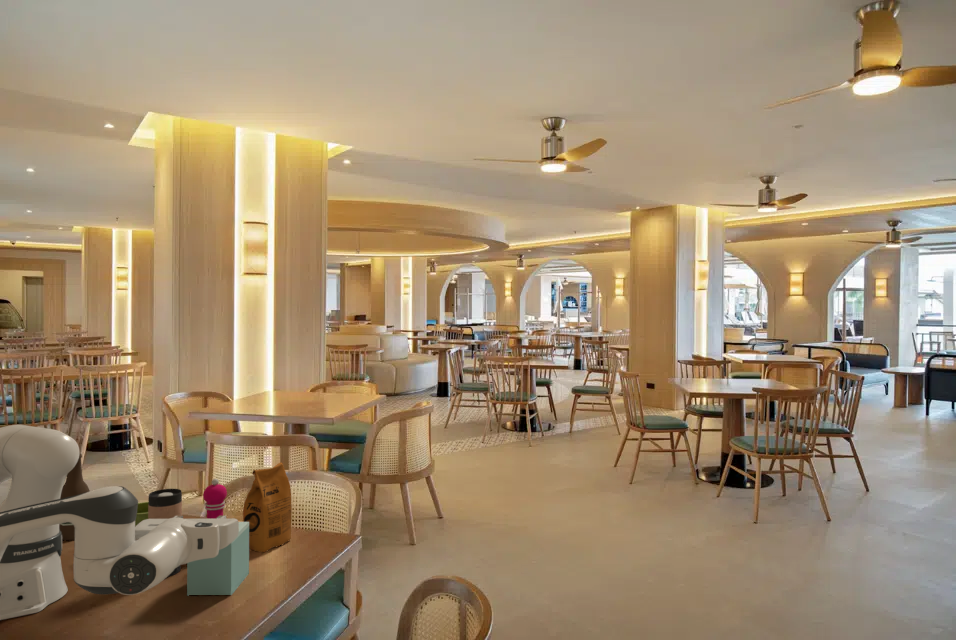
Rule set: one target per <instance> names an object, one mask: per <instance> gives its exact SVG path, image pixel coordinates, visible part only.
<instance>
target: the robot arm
mask: <svg viewBox="0 0 956 640" xmlns="http://www.w3.org/2000/svg"><path fill="white" fill-rule="evenodd" d="M79 453H80V447H79V444H78V442H77V441H76V439H74V438H73V437H71V436H70V435H68V434H66V433H64V432H62V431H61V430H58V429H53V428H46V427H39V426H34V425H33V426H31V425H28V424H27V425H25V424H12V425H6V426H2V427H0V484H2V483H4V482H5V481H7V480H10V479H11V483H10V487H9V491H8V493H7V496H6V497H5V499H4V500H2V502H1V504H0V621H2V620H7V619H12V618H17V617H22V616H27V615H32V614H36V613H39V612H41V611H43V609H45V608H46V607H47V606H48V605H51V604H52V603H54V602H57V601H58V600H59V599H61V598H63V597H64V596H65V595H66V594H67V592H68V586H67V583H66V581H65V576H64V573H63V568H62V567H63V566H62V560H61V556H62V551H63V540H62V535H61V531H60V530H59V524H61V523H66V522H70V523H72V524H73V525H74V527H75V540H74V551H73V552H74V553H73V581H74V583H75V584H76V585H77V586H78V587H79V588H81V589H83V590H84V591H87V592H88V593H91V594H95V595H113V594H121V595H126V596H134V595H138V594H141V593H144V592H146V591H148V590H150V589H152V588H155V587H156V586H157V585H159V584H160V583H161V582H163V581H165V579H167V576H169V575H170V574H171V573H172V572H173V571H174V569H175V568H177V567H178V566H180V565H181V566H182V565H186V564H187V563H189V562H192V561H196V560H202V559H208V558H214V557H216V556H217V555H218V553H219V550H221V549H223V548H225V547H227V546H228V545H229V544H230V543H231V542H233V541H234V540H235V538H236V537H237V536H238V532H239V522H240V521H239V520H238V518H234V517H233V518H227V515H223V516H219V517H217V519H206V518H184V515H182V516H175V517H173V518H169V519H146V520H143V521H141V522H140V523H139V524H138V525H137V526H136V527H135V520H136V516H137V508H138V503H139V500H138V498H137V497H136V496H135V495H134V494H133V493H132V492H131V491H130V490H129V489H127V488H126V487H124V486H118V485H112V486H111V485H110V486H109V485H107V486H103V487H99V488H96V489H94V490H90V492H86V493H82V494H79V495H75V496H71V497H66V498H62V499H60V497H61V492H62V488H63V486H64V484H65V482H66V478H67V474H68V473H69V472H70V471H71V470H72V469H73V468H74V467H75V465H76V463H77V461H78V459H79ZM80 454H81V453H80ZM169 577H170V576H169Z"/></svg>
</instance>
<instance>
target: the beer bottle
mask: <svg viewBox="0 0 956 640" xmlns="http://www.w3.org/2000/svg"><path fill="white" fill-rule="evenodd" d="M82 458H83V454H82V453H79V459H78V461H77V463H76V465H75V467H74V468H73V469H72V470H71V471H70V472H69V473H68V474H67V476H66V479H65V482H64V485H63V488H62V492H61V497H60V499H62V498H66V497H71V496H75V495H79V494H82V493H86V492H90V491H91V490H90V488H89V486H88V485H87V483H86V482H85V481H84V477H83V467H82ZM59 530H60V531H61V535H62V541H63V540H69V541H75V527H74V525H73V524H72V523H70V522H66V523H61V524H59Z"/></svg>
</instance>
